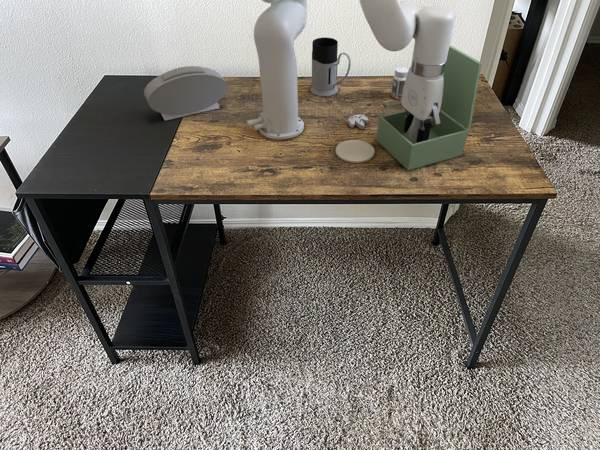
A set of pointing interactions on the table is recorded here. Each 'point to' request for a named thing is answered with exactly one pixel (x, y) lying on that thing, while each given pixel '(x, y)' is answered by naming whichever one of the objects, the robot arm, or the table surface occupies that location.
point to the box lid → (460, 86)
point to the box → (439, 146)
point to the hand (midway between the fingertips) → (415, 135)
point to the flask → (413, 130)
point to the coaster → (355, 151)
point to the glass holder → (325, 66)
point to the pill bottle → (399, 82)
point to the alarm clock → (185, 91)
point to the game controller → (357, 121)
